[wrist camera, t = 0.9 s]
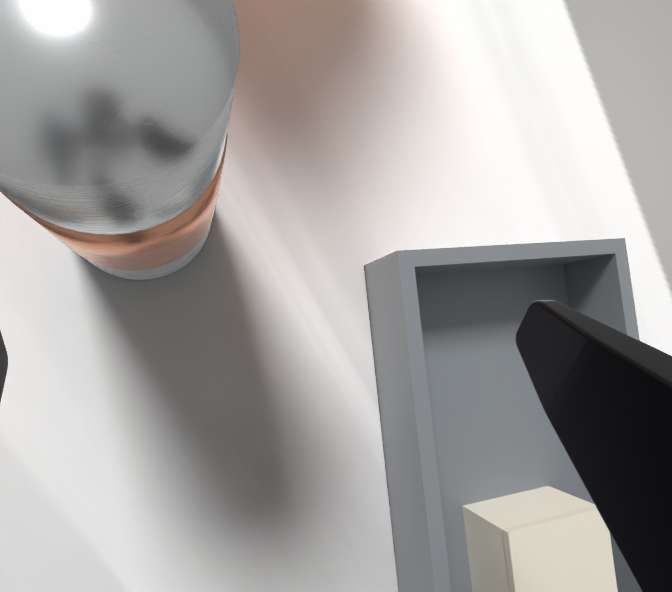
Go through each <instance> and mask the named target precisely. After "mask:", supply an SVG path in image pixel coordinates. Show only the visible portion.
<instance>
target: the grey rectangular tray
mask: <svg viewBox="0 0 672 592" xmlns="http://www.w3.org/2000/svg"><path fill="white" fill-rule="evenodd" d="M364 271H365V280H366V290H367V299H368V308H369V318H370V327H371V336H372V346H373V355H374V365H375V374H376V383H377V393H378V402H379V411H380V421H381V430H382V439H383V449H384V458H385V468H386V477H387V486H388V496H389V505H390V514H391V524H392V533H393V543H394V552H395V561H396V571H397V580H398V589H399V592H473V591H472V583H471V574H470V566H469V557H468V549H467V540H466V531H465V523H464V514H463V506H464V505H468V504H472V503H477V502H481V501H485V500H490V499H494V498H498V497H502V496H507V495H511V494H515V493H520V492H524V491H528V490H532V489H537V488H541V487H545V486H550V487H552V488H555V489H557V490H560V491H562V492H565V493H567V494H570V495H572V496H575V497H577V498H580V499H582V500H585V501H588V502H590V503H593V504H594V502H593V500H592V499H591V497H590V495H589V493H588V491H587V489H586V487H585V486H584V484H583V482H582V480H581V478H580V476H579V475H578V473H577V471H576V469H575V467H574V465H573V463H572V462H571V460H570V458H569V456H568V454H567V452H566V451H565V449H564V447H563V445H562V443H561V441H560V439H559V438H558V436H557V434H556V432H555V430H554V428H553V427H552V425H551V423H550V421H549V419H548V417H547V415H546V413H545V411H544V409H543V407H542V404H541V402H540V400H539V398H538V395H537V393H536V390H535V388H534V386H533V383H532V381H531V379H530V376H529V374H528V372H527V369H526V367H525V364H524V362H523V360H522V357H521V355H520V353H519V350H518V348H517V345H516V341H515V337H516V332H517V330H518V328H519V326H520V324H521V321H522V319H523V317H524V315H525V313H526V311H527V309H528V307H529V305H530V304H531V303H532V302H534V301H536V300H554V301H557V302H559V303H561V304H563V305H566V306H568V307H570V308H572V309H574V310H576V311H578V312H580V313H582V314H584V315H586V316H589V317H591V318H593V319H595V320H597V321H599V322H601V323H603V324H605V325H607V326H609V327H612V328H614V329H616V330H618V331H620V332H622V333H624V334H626V335H628V336H630V337H633V338H635V339H637V340H639V333H638V326H637V319H636V313H635V306H634V299H633V292H632V285H631V278H630V271H629V264H628V257H627V250H626V243H625V238H622V239H604V240H585V241H567V242H549V243H531V244H513V245H494V246H476V247H458V248H440V249H422V250H404V251H396V252H394V253H391V254H389V255H387V256H385V257H382V258H380V259H378V260H376V261H374V262H371V263H369V264H367V265H365V266H364ZM639 341H640V340H639ZM610 539H611V546H612V553H613V561H614V568H615V575H616V583H617V590H618V592H642V591H641V589H640V587H639V585H638V583H637V582H636V580H635V578H634V576H633V574H632V572H631V571H630V569H629V567H628V565H627V563H626V561H625V559H624V558H623V556H622V554H621V552H620V550H619V548H618V547H617V545H616V543H615V541H614V539H613V537H612V535H611V534H610Z"/></svg>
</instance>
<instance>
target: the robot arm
mask: <svg viewBox="0 0 672 592" xmlns="http://www.w3.org/2000/svg"><path fill="white" fill-rule="evenodd" d="M515 341H516V345H517V348H518V350H519V353H520V355H521V357H522V360H523V362H524V364H525V367H526V369H527V372H528V374H529V376H530V379H531V381H532V383H533V386H534V388H535V390H536V393H537V395H538V398H539V400H540V402H541V404H542V407H543V409H544V411H545V413H546V415H547V417H548V419H549V421H550V423H551V425H552V427H553V428H554V430H555V432H556V434H557V436H558V438H559V439H560V441H561V443H562V445H563V447H564V449H565V451H566V452H567V454H568V456H569V458H570V460H571V462H572V463H573V465H574V467H575V469H576V471H577V473H578V475H579V476H580V478H581V480H582V482H583V484H584V486H585V487H586V489H587V491H588V493H589V495H590V497H591V499H592V500H593V502H594V504H595V506H596V508H597V510H598V511H599V513H600V515H601V517H602V519H603V521H604V523H605V524H606V526H607V528H608V530H609V532H610V534H611V535H612V537H613V539H614V541H615V543H616V545H617V547H618V548H619V550H620V552H621V554H622V556H623V558H624V559H625V561H626V563H627V565H628V567H629V569H630V571H631V572H632V574H633V576H634V578H635V580H636V582H637V583H638V585H639V587H640V589H641V591H642V592H672V356H670V355H668V354H666V353H664V352H662V351H660V350H658V349H656V348H653V347H651V346H649V345H647V344H645V343H643V342H641V341H639V340H637V339H635V338H633V337H630V336H628V335H626V334H624V333H622V332H620V331H618V330H616V329H614V328H612V327H609V326H607V325H605V324H603V323H601V322H599V321H597V320H595V319H593V318H591V317H589V316H586V315H584V314H582V313H580V312H578V311H576V310H574V309H572V308H570V307H568V306H566V305H563V304H561V303H559V302H557V301H554V300H536V301H534V302H532V303H531V304H530V305H529V307H528V309H527V311H526V313H525V315H524V317H523V319H522V321H521V324H520V326H519V328H518V330H517V332H516V337H515ZM7 368H8V356H7V351H6V348H5V345H4V341H3V338H2V335H1V331H0V402H1V397H2V392H3V388H4V383H5V378H6V374H7Z"/></svg>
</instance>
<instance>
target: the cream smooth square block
mask: <svg viewBox="0 0 672 592" xmlns="http://www.w3.org/2000/svg"><path fill="white" fill-rule="evenodd" d="M463 514H464V523H465V531H466V540H467V549H468V557H469V566H470V574H471V583H472V591H473V592H618V590H617V583H616V575H615V568H614V561H613V553H612V546H611V539H610V532H609V530H608V528H607V526H606V524H605V523H604V521H603V519H602V517H601V515H600V513H599V511H598V510H597V508H596V506H595V504H593V503H590V502H588V501H585V500H582V499H580V498H577V497H575V496H572V495H570V494H567V493H565V492H562V491H560V490H557V489H555V488H552V487H550V486H545V487H541V488H537V489H532V490H528V491H524V492H520V493H515V494H511V495H507V496H502V497H498V498H494V499H490V500H485V501H481V502H477V503H472V504H468V505H464V506H463Z"/></svg>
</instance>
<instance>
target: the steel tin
mask: <svg viewBox="0 0 672 592" xmlns="http://www.w3.org/2000/svg"><path fill="white" fill-rule="evenodd" d="M238 61H239V31H238V24H237V18H236V13H235V10H234V7H233V3H232V0H0V192H2V193H3V194H4V195H5V196H6V197H7V198H8V199H9V200H10V201H11V202H13V203H14V204H15V205H16V206H17V207H19V208H20V209H21V210H22V211H24V212H25V213H26V214H27V215H29V216H30V217H31V218H33V219H34V220H35V221H36V222H38V223H39V224H40V225H41V226H43V227H44V228H45V229H46V230H48V231H49V232H50V233H51V234H53V235H54V236H55V237H56V238H58V239H59V240H60V241H61V242H63V243H64V244H65V245H67V246H68V247H69V248H70V249H72V250H73V251H74V252H76V253H77V254H79V255H80V256H82V257H83V258H85V259H86V260H87V261H89V262H90V263H91V264H93V265H94V266H96V267H97V268H99V269H101V270H103V271H104V272H106V273H109V274H112V275H114V276H117V277H121V278H125V279H133V280H148V279H155V278H159V277H163V276H166V275H169V274H171V273H174V272H176V271H177V270H179V269H181V268H183V267H184V266H185V265H187V264H188V263H189V262H190V261H191V260H192V259H194V258H195V257H196V255H197V254H198V253H199V252H200V250H201V249H202V247H203V245H204V244H205V242H206V239H207V237H208V235H209V231H210V227H211V222H212V219H213V215H214V211H215V206H216V201H217V195H218V190H219V184H220V179H221V173H222V168H223V162H224V157H225V151H226V143H227V128H228V123H229V117H230V111H231V105H232V99H233V93H234V88H235V82H236V76H237V69H238Z"/></svg>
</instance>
